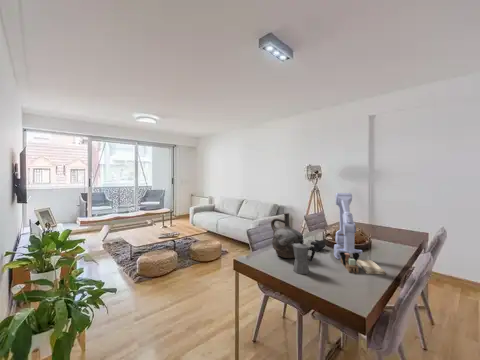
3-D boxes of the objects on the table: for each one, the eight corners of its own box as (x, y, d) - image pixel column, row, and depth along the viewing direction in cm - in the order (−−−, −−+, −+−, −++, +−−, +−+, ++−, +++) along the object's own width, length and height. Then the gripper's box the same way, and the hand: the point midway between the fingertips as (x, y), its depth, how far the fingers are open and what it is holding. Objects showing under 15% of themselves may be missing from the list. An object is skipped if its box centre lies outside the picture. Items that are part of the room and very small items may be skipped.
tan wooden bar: (358, 273, 131) (358, 266, 131) (349, 273, 132) (349, 266, 132) (348, 262, 147) (348, 256, 147) (340, 262, 147) (340, 256, 147)
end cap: (319, 252, 165) (319, 243, 165) (310, 250, 171) (310, 241, 171) (325, 249, 172) (325, 240, 172) (316, 247, 177) (317, 238, 177)
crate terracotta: (344, 259, 142) (344, 254, 142) (343, 257, 145) (343, 252, 145) (349, 259, 142) (349, 254, 142) (348, 257, 145) (348, 252, 145)
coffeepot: (286, 269, 135) (287, 239, 135) (295, 265, 142) (295, 236, 141) (310, 278, 124) (310, 245, 124) (319, 273, 131) (319, 242, 130)
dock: (366, 273, 130) (366, 270, 130) (355, 261, 148) (355, 259, 148) (385, 274, 129) (385, 271, 129) (371, 262, 147) (371, 259, 147)
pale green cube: (350, 265, 133) (350, 259, 133) (348, 263, 136) (348, 258, 136) (355, 265, 133) (355, 260, 133) (353, 263, 136) (353, 258, 136)
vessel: (263, 257, 155) (263, 214, 155) (274, 248, 175) (274, 209, 174) (299, 264, 144) (299, 217, 143) (306, 253, 163) (307, 212, 162)
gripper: (338, 244, 136) (338, 266, 136) (364, 245, 134) (364, 268, 134) (335, 240, 143) (335, 262, 143) (359, 241, 141) (359, 263, 141)
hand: (349, 264), depth 139 cm, fingers open, 5 cm apart
